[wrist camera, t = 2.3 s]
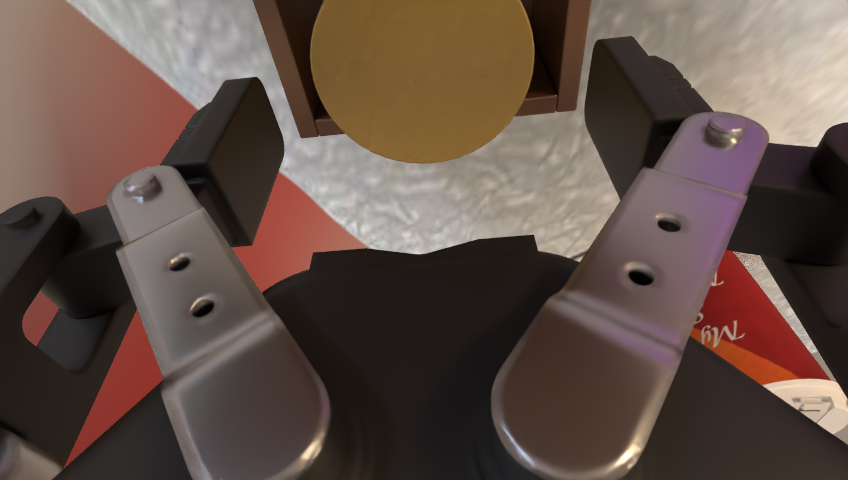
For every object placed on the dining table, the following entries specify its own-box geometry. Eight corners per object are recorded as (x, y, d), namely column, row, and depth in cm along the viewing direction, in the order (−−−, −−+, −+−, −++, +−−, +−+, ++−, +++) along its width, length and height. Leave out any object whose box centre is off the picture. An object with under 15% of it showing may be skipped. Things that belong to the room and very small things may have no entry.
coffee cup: (655, 221, 37) (750, 403, 26) (759, 220, 37) (895, 401, 26) (623, 288, 43) (691, 457, 32) (713, 287, 43) (809, 456, 32)
